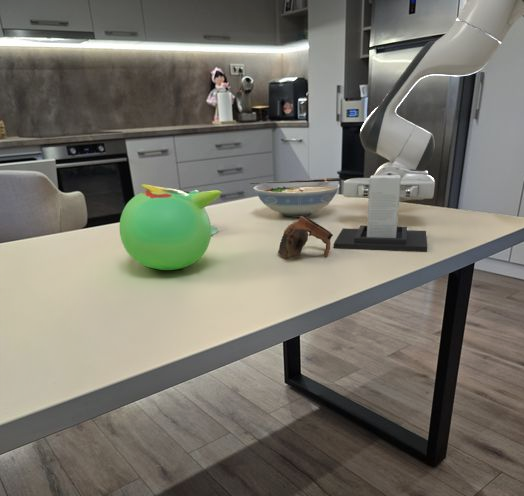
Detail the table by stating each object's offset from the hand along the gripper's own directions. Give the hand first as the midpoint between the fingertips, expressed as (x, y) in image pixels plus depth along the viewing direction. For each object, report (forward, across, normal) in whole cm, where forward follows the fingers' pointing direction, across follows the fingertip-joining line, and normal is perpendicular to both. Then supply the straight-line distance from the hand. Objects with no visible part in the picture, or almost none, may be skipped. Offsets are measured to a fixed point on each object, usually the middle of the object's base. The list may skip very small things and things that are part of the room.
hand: (386, 193), depth 104 cm
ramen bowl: (-18, -24, +9) cm, 31 cm away
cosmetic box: (+9, 0, +8) cm, 11 cm away
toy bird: (+34, -36, +9) cm, 50 cm away
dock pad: (+9, 0, +8) cm, 12 cm away
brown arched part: (+23, -14, +9) cm, 28 cm away
